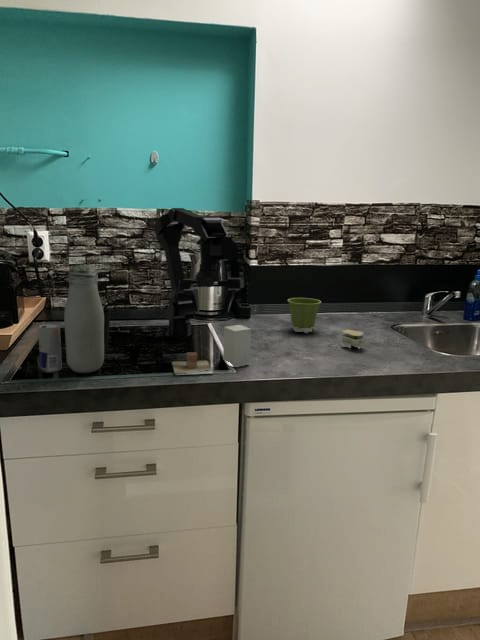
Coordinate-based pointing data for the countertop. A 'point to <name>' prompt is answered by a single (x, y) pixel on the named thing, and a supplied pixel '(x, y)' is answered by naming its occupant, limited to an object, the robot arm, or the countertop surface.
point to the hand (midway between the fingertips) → (212, 312)
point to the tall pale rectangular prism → (237, 344)
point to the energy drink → (50, 348)
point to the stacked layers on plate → (352, 337)
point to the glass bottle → (84, 321)
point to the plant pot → (303, 311)
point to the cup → (106, 328)
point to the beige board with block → (190, 365)
